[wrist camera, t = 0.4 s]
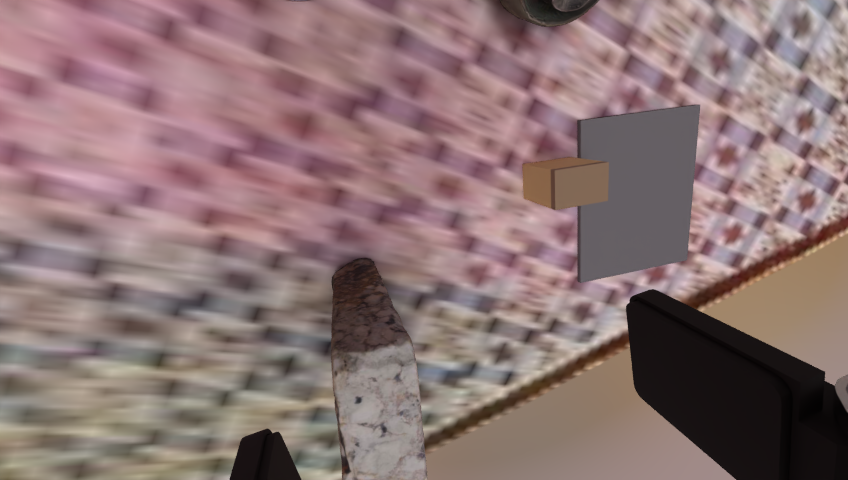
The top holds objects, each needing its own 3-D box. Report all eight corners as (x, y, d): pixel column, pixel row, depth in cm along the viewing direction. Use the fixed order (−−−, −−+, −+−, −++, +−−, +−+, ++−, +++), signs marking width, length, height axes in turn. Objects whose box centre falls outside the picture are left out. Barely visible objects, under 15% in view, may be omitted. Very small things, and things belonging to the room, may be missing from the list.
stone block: (398, 353, 49) (441, 495, 30) (340, 368, 47) (348, 526, 29) (378, 251, 45) (414, 342, 26) (315, 265, 43) (304, 370, 25)
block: (522, 164, 46) (554, 170, 39) (569, 157, 47) (608, 162, 40) (523, 198, 47) (555, 210, 40) (569, 190, 48) (608, 200, 41)
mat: (577, 120, 46) (580, 120, 45) (695, 105, 49) (700, 104, 48) (577, 281, 52) (580, 282, 51) (683, 258, 55) (686, 259, 54)
